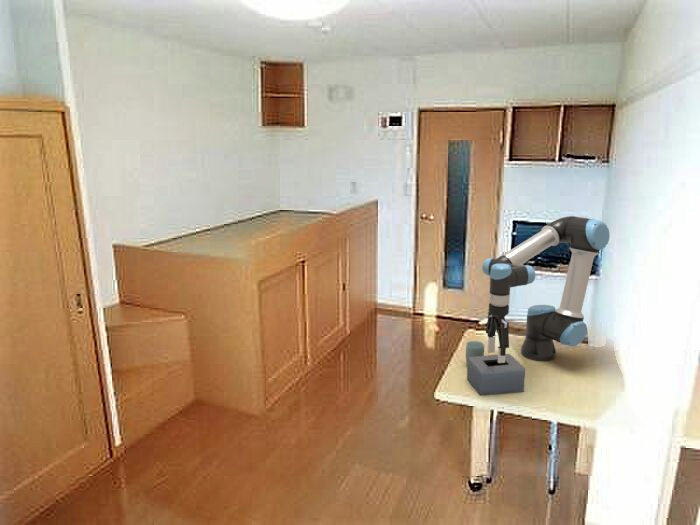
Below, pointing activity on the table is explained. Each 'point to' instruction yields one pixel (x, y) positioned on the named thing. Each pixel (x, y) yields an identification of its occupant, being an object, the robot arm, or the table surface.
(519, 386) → the coin box
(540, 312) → the robot arm
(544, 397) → the table surface
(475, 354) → the cup
